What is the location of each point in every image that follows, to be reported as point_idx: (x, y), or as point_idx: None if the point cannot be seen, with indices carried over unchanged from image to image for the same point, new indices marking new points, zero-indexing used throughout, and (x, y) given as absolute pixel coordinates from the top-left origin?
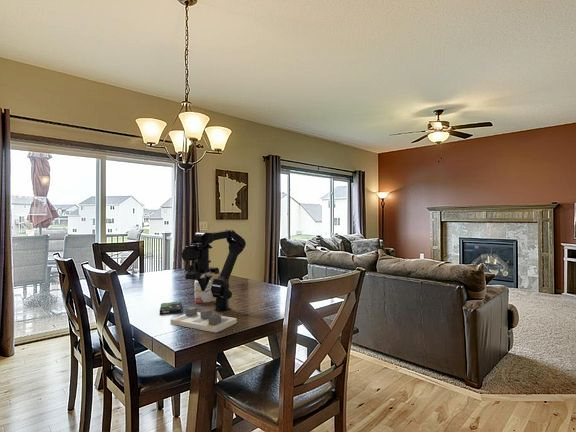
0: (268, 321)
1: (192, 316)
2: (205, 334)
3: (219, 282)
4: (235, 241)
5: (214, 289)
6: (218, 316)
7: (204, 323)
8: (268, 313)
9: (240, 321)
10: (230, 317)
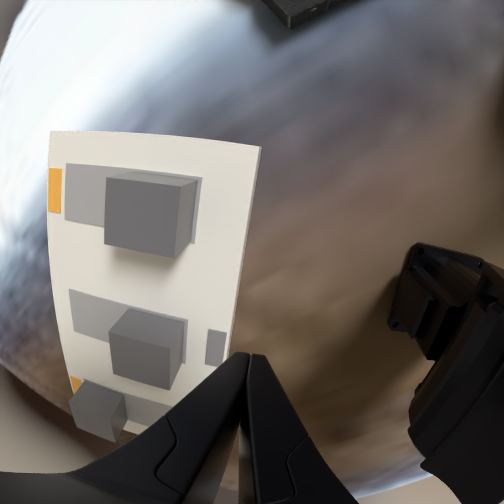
0: None
1: None
2: (56, 371)
3: (487, 472)
4: None
5: (463, 374)
6: (99, 436)
7: (83, 359)
8: (370, 477)
9: None
10: None
